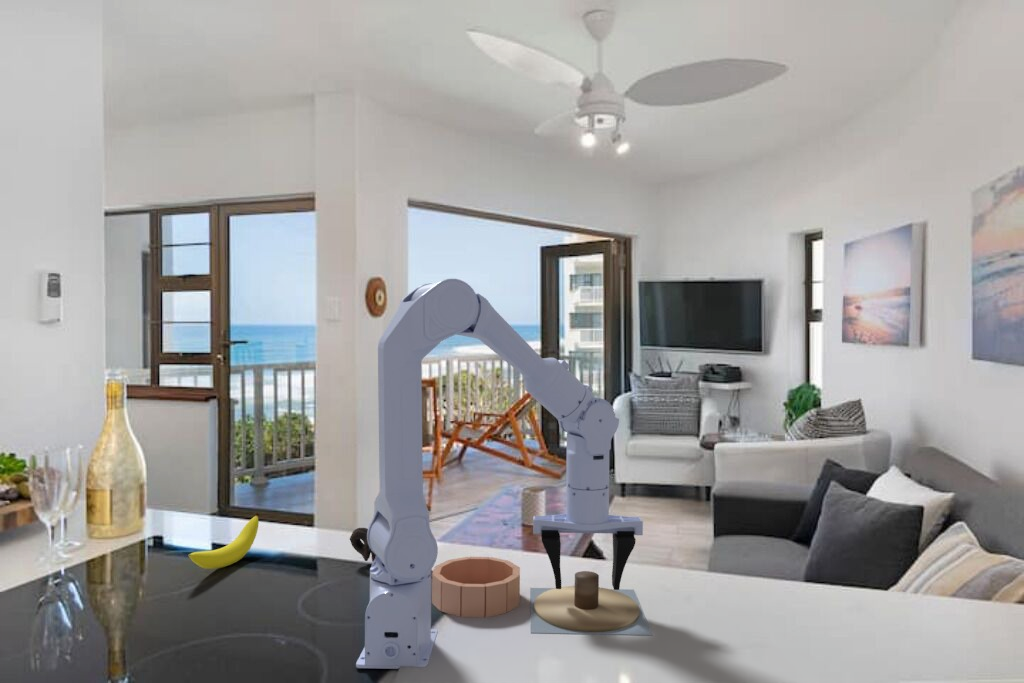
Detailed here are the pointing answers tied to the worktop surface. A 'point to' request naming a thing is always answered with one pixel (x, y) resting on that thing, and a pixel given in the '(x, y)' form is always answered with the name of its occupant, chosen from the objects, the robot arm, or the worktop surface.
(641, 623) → the rubber mat
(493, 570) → the terracotta bowl
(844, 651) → the worktop surface
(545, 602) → the oak lid
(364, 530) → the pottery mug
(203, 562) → the banana
